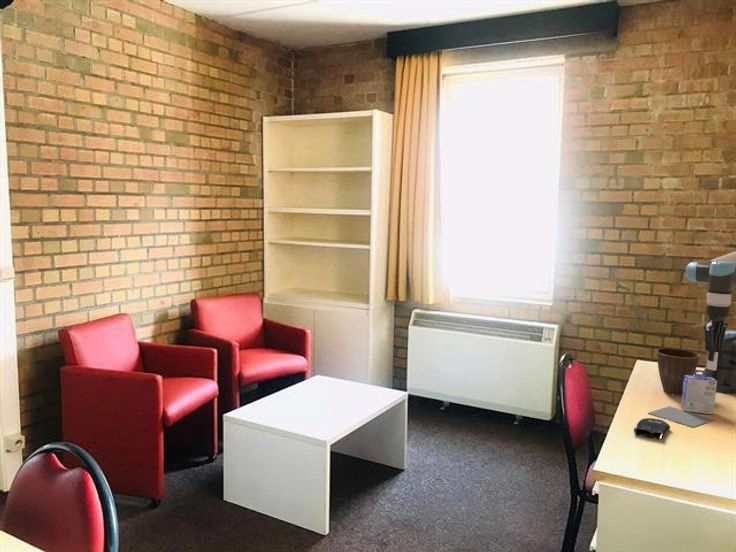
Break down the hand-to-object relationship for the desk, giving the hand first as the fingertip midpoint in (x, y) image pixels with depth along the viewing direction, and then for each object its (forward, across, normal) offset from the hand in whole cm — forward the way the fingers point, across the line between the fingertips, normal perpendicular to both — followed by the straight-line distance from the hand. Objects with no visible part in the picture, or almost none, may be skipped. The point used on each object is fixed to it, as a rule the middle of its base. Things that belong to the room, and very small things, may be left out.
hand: (711, 369), depth 230 cm
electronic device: (+15, +40, +2) cm, 43 cm away
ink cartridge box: (+14, +8, 0) cm, 16 cm away
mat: (+15, +18, 0) cm, 24 cm away
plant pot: (+15, -8, -16) cm, 23 cm away
